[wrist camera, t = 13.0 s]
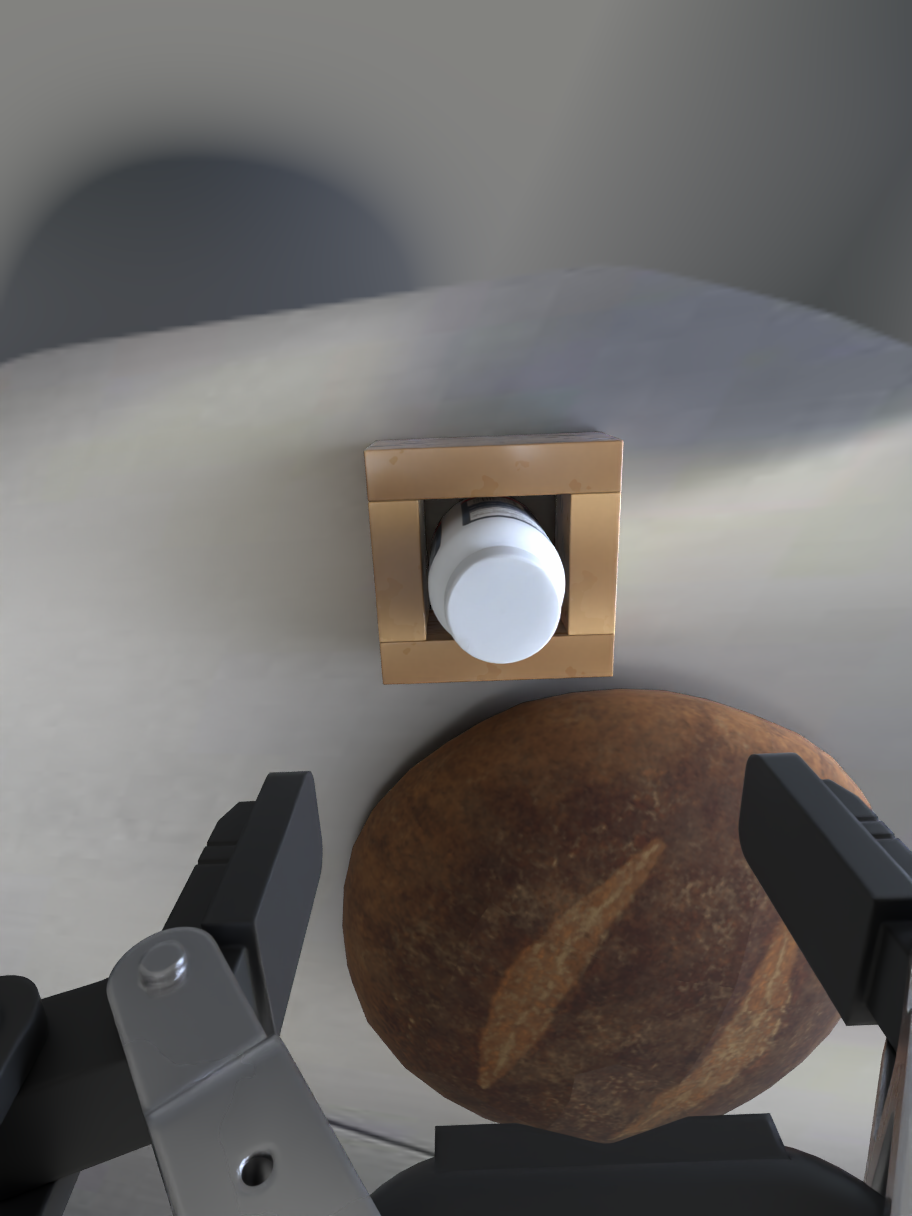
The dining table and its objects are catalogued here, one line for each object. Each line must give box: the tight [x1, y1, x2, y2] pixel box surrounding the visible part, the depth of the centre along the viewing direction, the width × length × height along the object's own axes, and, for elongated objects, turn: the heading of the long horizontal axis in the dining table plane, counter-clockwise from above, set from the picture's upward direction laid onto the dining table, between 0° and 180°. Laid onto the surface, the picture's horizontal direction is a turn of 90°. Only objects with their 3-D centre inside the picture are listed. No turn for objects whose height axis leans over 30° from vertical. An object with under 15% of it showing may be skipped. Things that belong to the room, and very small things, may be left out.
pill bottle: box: [428, 496, 565, 664], centre depth 27 cm, size 5×5×9 cm
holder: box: [364, 432, 624, 685], centre depth 29 cm, size 10×10×4 cm
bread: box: [342, 689, 872, 1144], centre depth 33 cm, size 28×27×9 cm
